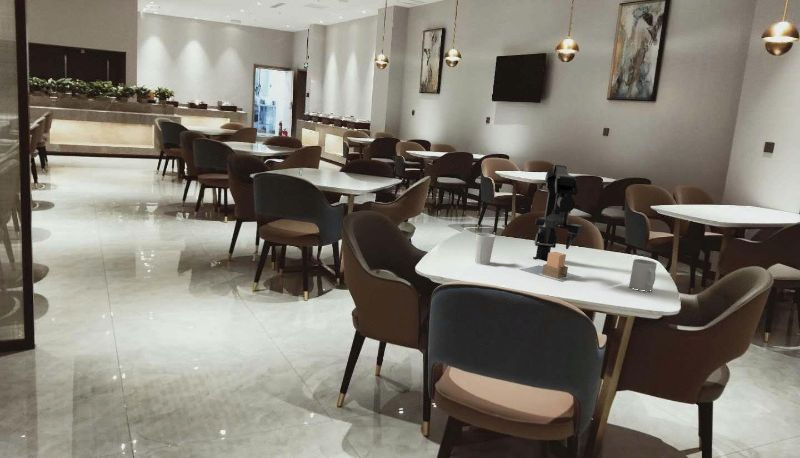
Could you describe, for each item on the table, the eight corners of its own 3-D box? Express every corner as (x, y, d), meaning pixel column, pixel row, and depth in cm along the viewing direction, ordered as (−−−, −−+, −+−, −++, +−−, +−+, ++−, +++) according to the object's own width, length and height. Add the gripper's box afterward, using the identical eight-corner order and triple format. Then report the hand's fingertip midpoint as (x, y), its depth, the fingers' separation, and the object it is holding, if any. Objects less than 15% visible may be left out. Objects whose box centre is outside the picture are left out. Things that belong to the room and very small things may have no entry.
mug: (624, 285, 240) (629, 258, 238) (644, 286, 242) (649, 259, 240) (640, 294, 229) (645, 266, 227) (661, 295, 230) (666, 267, 228)
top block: (553, 263, 245) (554, 251, 244) (564, 266, 242) (566, 254, 241) (546, 265, 242) (548, 252, 241) (557, 268, 238) (559, 255, 237)
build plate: (539, 266, 259) (539, 265, 258) (582, 278, 245) (582, 276, 245) (518, 271, 247) (518, 269, 247) (561, 283, 234) (562, 281, 233)
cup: (491, 266, 251) (494, 237, 249) (472, 263, 253) (475, 235, 251) (492, 261, 259) (495, 234, 257) (473, 259, 260) (476, 232, 258)
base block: (551, 272, 247) (552, 262, 247) (566, 276, 243) (567, 266, 242) (541, 274, 242) (543, 264, 242) (557, 278, 238) (558, 268, 237)
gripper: (530, 204, 239) (525, 243, 242) (573, 213, 226) (567, 253, 229) (545, 203, 247) (540, 240, 250) (587, 211, 234) (581, 250, 237)
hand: (556, 246), depth 241 cm, fingers open, 9 cm apart
